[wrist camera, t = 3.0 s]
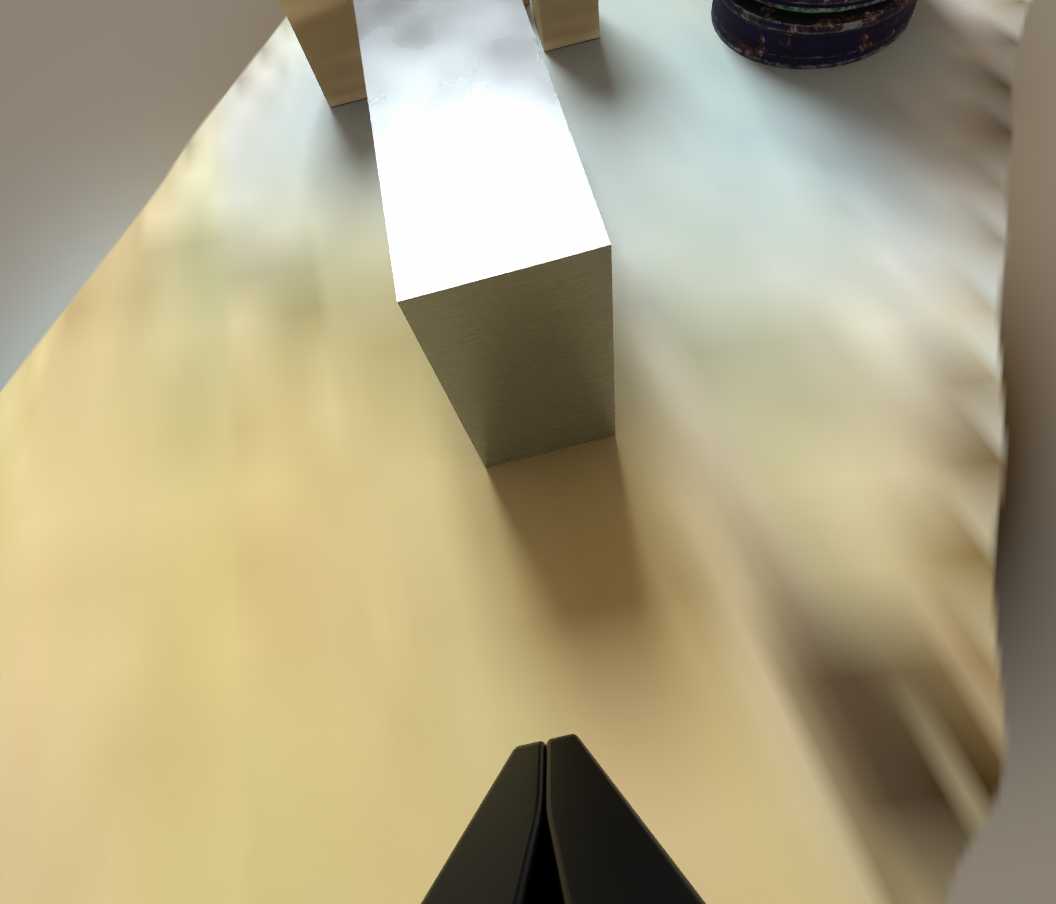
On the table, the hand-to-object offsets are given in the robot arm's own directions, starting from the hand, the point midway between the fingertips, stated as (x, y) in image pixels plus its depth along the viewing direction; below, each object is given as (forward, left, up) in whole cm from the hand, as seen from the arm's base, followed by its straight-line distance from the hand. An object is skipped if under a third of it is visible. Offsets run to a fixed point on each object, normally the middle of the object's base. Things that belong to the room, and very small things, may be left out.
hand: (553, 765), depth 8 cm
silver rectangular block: (+19, -4, -12) cm, 23 cm away
